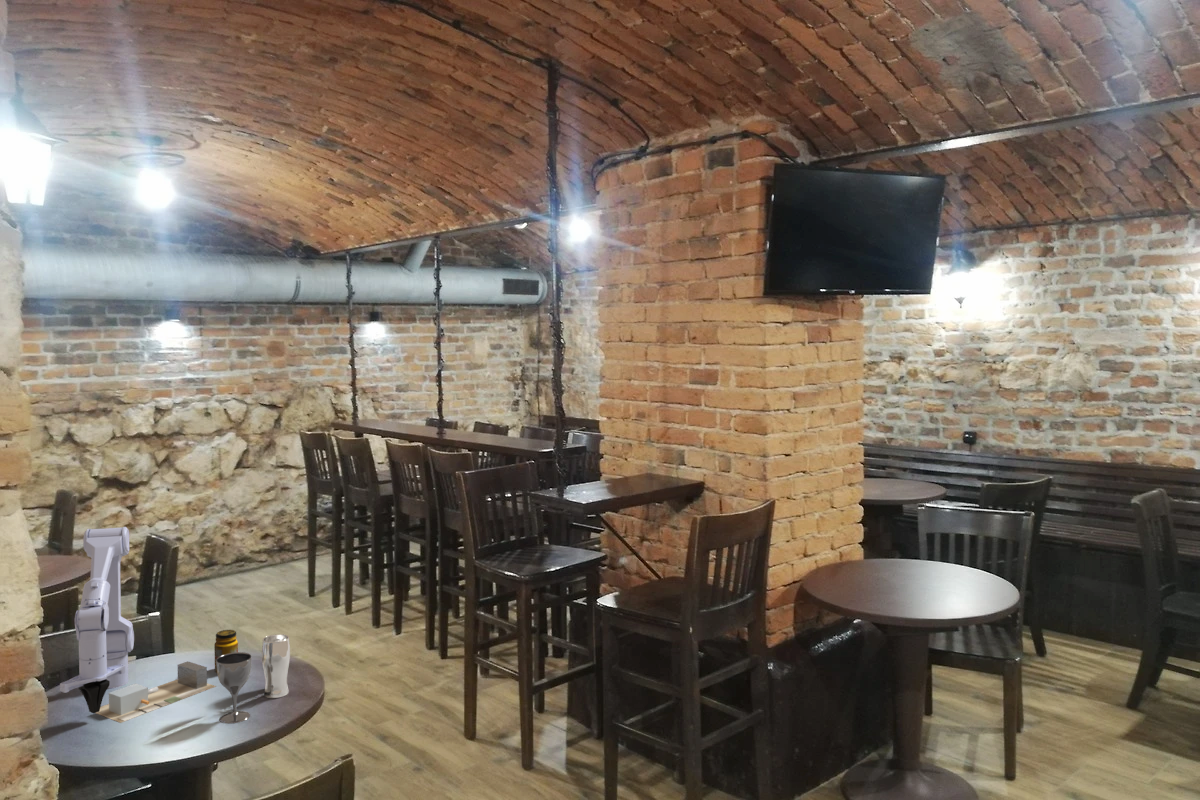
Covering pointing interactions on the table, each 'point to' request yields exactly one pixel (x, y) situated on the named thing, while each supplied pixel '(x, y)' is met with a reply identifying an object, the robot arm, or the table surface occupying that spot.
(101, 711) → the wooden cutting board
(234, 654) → the wine glass
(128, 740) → the table surface
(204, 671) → the grey rectangular block
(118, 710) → the light grey block
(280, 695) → the beer glass
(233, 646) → the condiment
